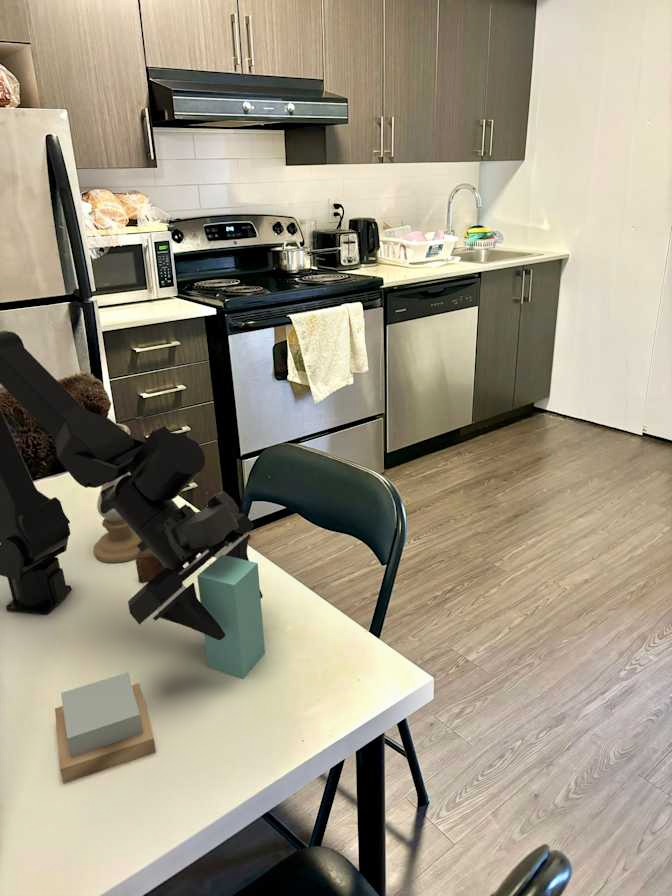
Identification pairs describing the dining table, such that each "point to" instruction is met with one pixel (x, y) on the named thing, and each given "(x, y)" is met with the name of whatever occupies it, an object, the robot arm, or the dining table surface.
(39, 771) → the dining table surface
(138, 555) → the brick
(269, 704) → the dining table surface
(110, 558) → the candle holder
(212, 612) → the tall teal block
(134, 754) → the tower base block
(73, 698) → the tower middle block
